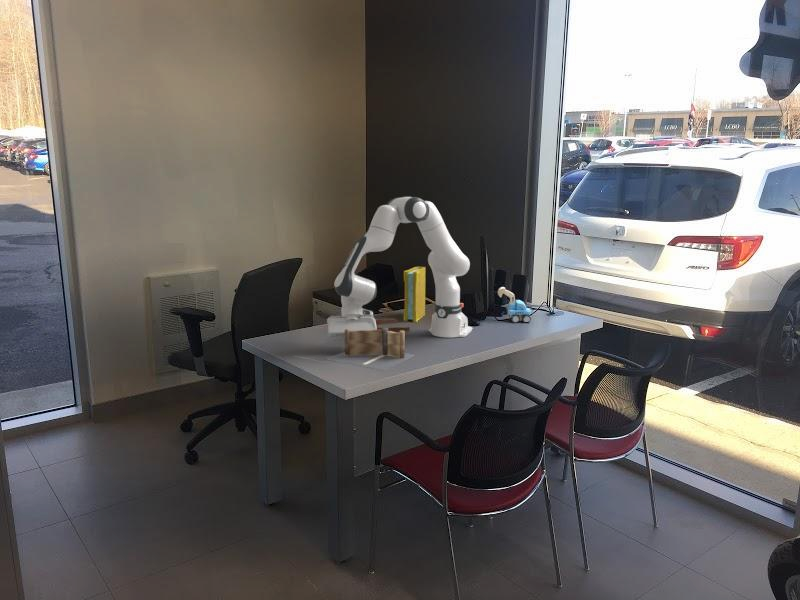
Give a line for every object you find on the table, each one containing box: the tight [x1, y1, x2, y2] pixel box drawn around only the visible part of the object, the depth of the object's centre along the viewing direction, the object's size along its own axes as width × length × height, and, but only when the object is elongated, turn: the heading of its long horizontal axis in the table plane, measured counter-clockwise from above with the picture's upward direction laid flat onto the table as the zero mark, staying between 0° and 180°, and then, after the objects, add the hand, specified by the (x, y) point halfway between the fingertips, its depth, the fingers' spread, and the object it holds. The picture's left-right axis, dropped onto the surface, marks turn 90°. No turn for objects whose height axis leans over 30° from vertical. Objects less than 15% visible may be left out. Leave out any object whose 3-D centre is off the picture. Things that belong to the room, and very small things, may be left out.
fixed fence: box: [382, 328, 406, 358], centre depth 267 cm, size 10×2×11 cm, turn 59°
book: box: [403, 266, 426, 323], centre depth 332 cm, size 17×7×25 cm, turn 159°
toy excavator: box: [497, 286, 532, 323], centre depth 328 cm, size 9×17×17 cm, turn 88°
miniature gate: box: [374, 318, 410, 333], centre depth 312 cm, size 27×6×30 cm
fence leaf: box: [344, 329, 382, 355], centre depth 268 cm, size 15×2×10 cm, turn 99°
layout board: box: [325, 350, 416, 372], centre depth 267 cm, size 24×28×1 cm
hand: (352, 344), depth 268 cm, fingers closed
